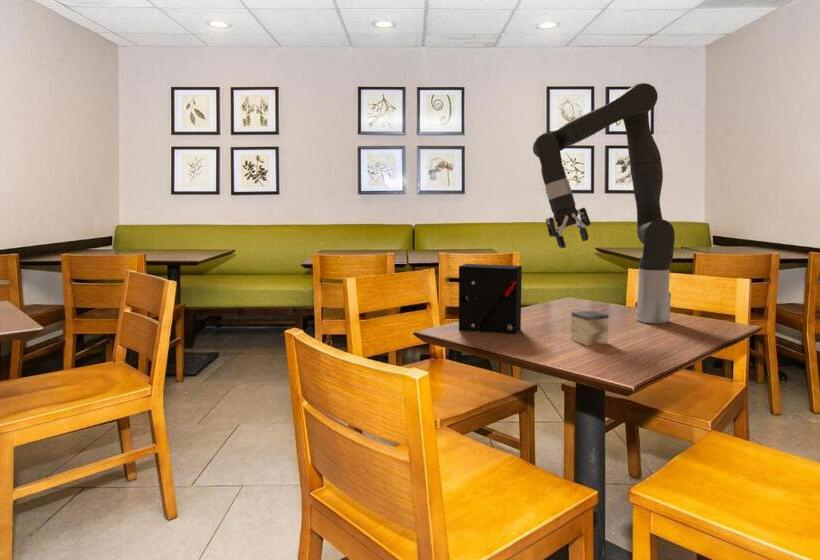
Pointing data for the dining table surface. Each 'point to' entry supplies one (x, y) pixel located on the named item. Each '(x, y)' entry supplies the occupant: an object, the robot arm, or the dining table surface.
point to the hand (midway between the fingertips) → (574, 244)
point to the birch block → (589, 327)
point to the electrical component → (490, 298)
